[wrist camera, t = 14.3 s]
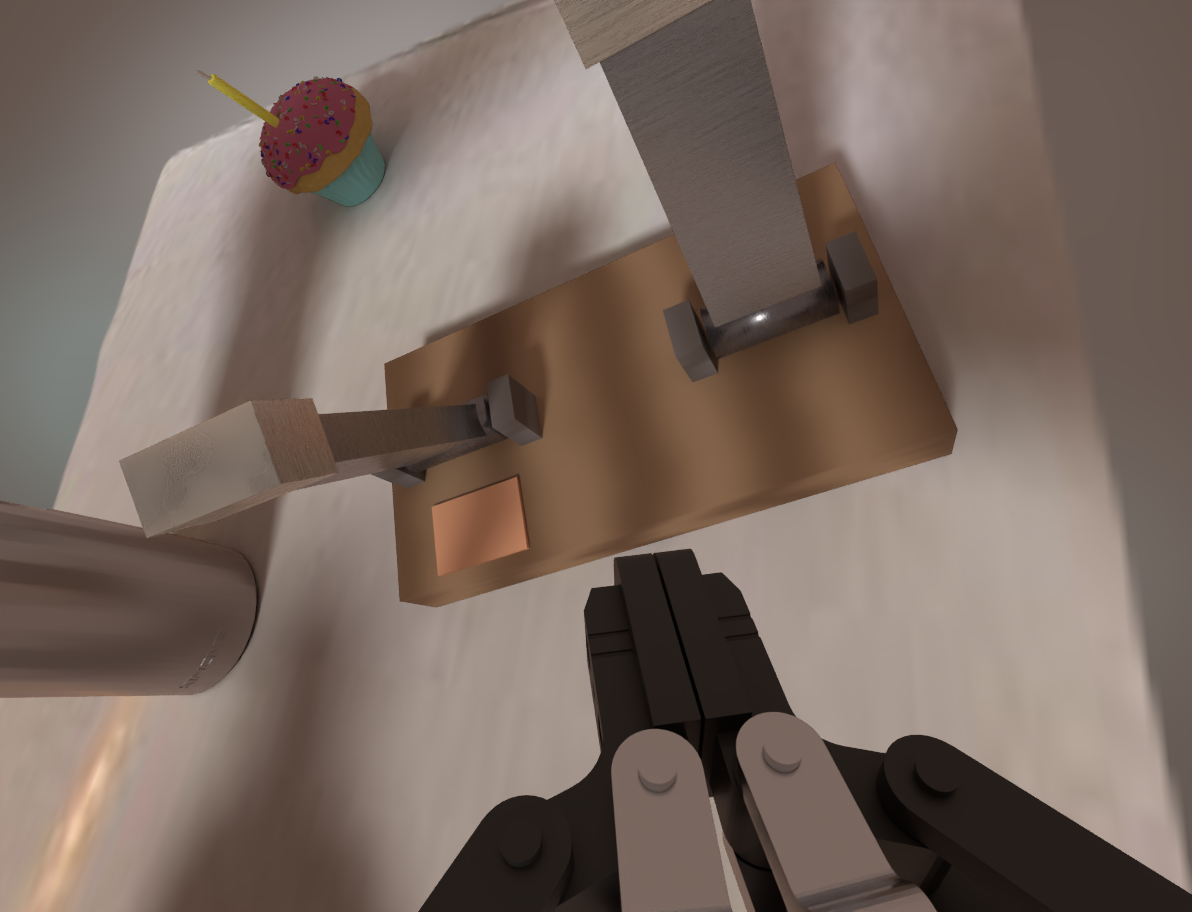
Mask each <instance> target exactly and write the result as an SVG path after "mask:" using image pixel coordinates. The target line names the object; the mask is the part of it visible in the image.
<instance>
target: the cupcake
mask: <svg viewBox="0 0 1192 912" xmlns="http://www.w3.org/2000/svg"><path fill="white" fill-rule="evenodd" d="M196 73H197V74H200V75H201V76H203V77H205V78H206V79H208V83H209V84H210V85H212V86H213V87H215V88H216V89H218V90H219V91H221V92H222V93H224V94H225V95H227V96H228V97H230V98H231V99H233V100H234V101H236V102H237V103H239V104H240V105H242V106H243V107H245V108H246V109H248V110H249V111H251V112H252V113H254V114H255V115H257V116H258V117H260V118H261V119H263V120H264V121H266V122H265V123H264V126H263V128H262V133H261V137H260V139H261V142H260V143H259V147H261V149H262V150H261V157H262V158H263V159H261V162H262V165H264V167H265V168H266V170H267V172H266V174H267V176H268V177H271V179H272V180H273V181H274V182H275V183H276V184H277V185H278V186H280V187H282V188H285V189H287V190H289V191H290V192H292V193H295V194H299V193H302V192H311V193H314V194H317V195H320V196H323V197H325V198H327V199H330V200H332V201H334V202H336V203H338V204H340V205H343V206H354V205H358V204H360V203H362V202H363V201H365V200H366V199H368V198H369V197H370V196H371V195H372V194H373V193H374V192H375V191H376V189H377V188H378V186H379V185H380V183H381V181H382V179H383V176H384V171H385V163H384V160H383V158H382V156H381V154H380V152H379V150H378V148H377V146H376V144H375V142H374V140H373V138H372V136H371V133H370V132H371V129H372V119H371V115H370V107H369V104H368V102H367V101H366V99H365V98H364V97H363V96H362V95H361V94H360V93H359V92H358V91H357V90H356V89H355V88H353V87H352V86H350V85H348V84H345V83H343V82H342V79H340V78H338V79H337V80H335V79H332V78H331V79H330V78H328V77H326V78H323V77H322V78H323V79H319V78H318V77H314V78H313V80H310V81H306V82H304V81H302V82H301V83H300V84H299V83H298V84H296V86H295V87H293V88H292V89H291V90H289V91H288V92H286V93H285V94H284V95H280V97H281V98H280V97H279V100H278V101H277V103H273V104H275V105H274V106H273V107H272V109H271V112H269V111H267V110H266V109H264V108H263V107H261V106H260V105H258V104H257V103H255V102H254V101H252V100H251V99H249V98H248V97H247V96H245V95H244V94H242V93H241V92H239V91H238V90H236V89H235V88H233V87H232V86H231V85H229V84H228V83H226V82H225V81H223V80H222V79H220V78H219V77H217V76H216V75H214V74H212V75H211V76H208V75H206V74H204V73H203V72H201V71H196Z"/></svg>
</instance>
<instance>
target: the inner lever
mask: <svg viewBox="0 0 1192 912" xmlns="http://www.w3.org/2000/svg"><path fill="white" fill-rule="evenodd" d="M506 439H508V437H506V436H505V435H503V434H502V433H500V432H498V431H497V430H495V429H494V428H492V422H491V415H490V407H489V400H488V393H487V394H484V395H482V396H479V397H477V398H474V399H472V400H469V401H467V402H464V403H462V404H460V405H454V406H438V407H423V408H408V409H393V410H378V411H362V412H347V413H332V414H318V413H317V410H316V407H315V404H314V401H313V399H312V398H308V399H276V400H250V401H248V402H246V403H243V404H241V405H239V406H237V407H235V408H233V409H230V410H228V411H226V412H224V413H222V414H220V415H217V416H215V417H213V418H211V419H209V420H207V421H204V422H202V423H200V424H198V425H196V426H194V427H191V428H189V429H187V430H185V431H183V432H181V433H178V434H176V435H174V436H172V437H170V438H168V439H165V440H163V441H161V442H159V443H157V444H155V445H152V446H150V447H148V448H146V449H144V450H142V451H139V452H137V453H135V454H133V455H131V456H129V457H126V458H124V459H122V460H120V461H119V462H120V465H121V468H122V471H123V473H124V476H125V479H126V482H127V485H128V487H129V490H130V493H131V496H132V499H133V501H134V504H135V507H136V510H137V512H138V515H139V518H140V521H141V524H142V526H143V529H144V532H145V535H146V538H149V537H153V536H157V535H161V534H165V533H169V532H174V531H178V530H182V529H186V528H190V527H194V526H198V525H203V524H207V523H211V522H215V521H218V520H220V519H223V518H225V517H228V516H230V515H233V514H235V513H238V512H240V511H243V510H245V509H248V508H251V507H253V506H256V505H258V504H261V503H263V502H266V501H268V500H271V499H273V498H276V497H278V496H281V495H284V494H286V493H289V492H291V491H294V490H298V489H303V488H307V487H312V486H317V485H321V484H326V483H330V482H335V481H340V480H344V479H349V478H354V477H358V476H363V475H367V474H372V473H377V472H381V471H386V470H390V469H395V468H400V467H405V468H406V469H408V470H409V471H411V472H414V473H418V472H421V471H423V470H426V469H429V468H431V467H434V466H437V465H439V464H442V463H445V462H447V461H450V460H453V459H455V458H458V457H461V456H463V455H466V454H469V453H471V452H474V451H477V450H479V449H482V448H484V447H487V446H490V445H492V444H495V443H498V442H500V441H503V440H506Z"/></svg>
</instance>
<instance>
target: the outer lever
mask: <svg viewBox="0 0 1192 912" xmlns="http://www.w3.org/2000/svg"><path fill="white" fill-rule="evenodd" d="M555 3H556V5H557V7H558V9H559V11H560V14H561V16H562V18H563V20H564V22H565V25H566V27H567V29H568V31H569V33H570V36H571V38H572V40H573V42H574V44H575V47H576V49H577V51H578V53H579V55H580V58H581V60H582V62H583V64H584V66H585V69H588V68H589V67H591V66H593V65H595V64H597V63H599V62H600V64H601V66H602V68H603V71H604V73H605V75H606V78H607V80H608V82H609V85H610V87H611V89H612V91H613V94H614V96H615V98H616V101H617V103H618V105H619V108H620V110H621V112H622V114H623V117H624V119H625V121H626V124H627V126H628V128H629V131H630V133H631V135H632V137H633V140H634V142H635V144H636V147H637V149H638V151H639V153H640V156H641V158H642V160H643V163H644V165H645V167H646V170H647V172H648V174H649V176H650V179H651V181H652V183H653V186H654V188H655V190H656V193H657V195H658V197H659V199H660V202H661V204H662V206H663V209H664V211H665V213H666V215H667V218H668V220H669V222H670V225H671V227H672V229H673V232H674V234H675V236H676V238H677V241H678V243H679V245H680V248H681V250H682V252H683V255H684V257H685V259H686V261H687V264H688V266H689V268H690V271H691V273H692V275H693V277H694V280H695V282H696V284H697V287H698V289H699V291H700V294H701V296H702V298H703V300H704V303H705V305H703V306H701V307H700V313H701V317H702V320H703V323H704V326H705V329H706V332H707V335H708V338H709V340H710V343H711V345H712V348H713V350H714V352H715V354H716V356H717V358H718V359H720V358H723V357H726V356H728V355H731V354H734V353H736V352H739V351H742V350H744V349H747V348H750V347H752V346H755V345H758V344H760V343H763V342H766V341H768V340H771V339H773V338H776V337H779V336H781V335H784V334H787V333H789V332H792V331H795V330H797V329H800V328H803V327H805V326H808V325H811V324H813V323H816V322H819V321H821V320H824V319H827V318H829V317H832V316H834V315H837V314H839V313H840V310H839V304H838V300H837V297H836V293H835V290H834V287H833V284H832V281H831V278H830V276H829V273H828V271H827V268H826V266H825V264H824V262H823V260H822V259H821V258H819V259H817V260H815V257H814V253H813V249H812V245H811V241H810V237H809V233H808V229H807V225H806V221H805V217H804V213H803V209H802V205H801V201H800V197H799V193H798V189H797V185H796V181H795V177H794V173H793V169H792V165H791V161H790V157H789V153H788V149H787V145H786V141H785V137H784V133H783V128H782V124H781V120H780V116H779V112H778V108H777V104H776V100H775V96H774V92H773V88H772V84H771V80H770V76H769V72H768V68H767V64H766V60H765V56H764V52H763V48H762V44H761V40H760V36H759V32H758V28H757V24H756V20H755V16H754V12H753V8H752V4H751V0H555Z"/></svg>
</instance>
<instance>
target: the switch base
mask: <svg viewBox="0 0 1192 912" xmlns="http://www.w3.org/2000/svg"><path fill="white" fill-rule="evenodd" d="M795 181H796V185H797V189H798V193H799V197H800V201H801V205H802V209H803V213H804V217H805V221H806V225H807V229H808V233H809V237H810V241H811V245H812V249H813V253H814V257H815V260H817V259H819V258H821V259H822V260H823V262H824V264H825V266H826V268H827V271H828V273H829V276H830V278H831V281H832V284H833V287H834V290H835V293H836V297H837V300H838V304H839V310H840V313H839V314H837V315H834V316H832V317H829V318H827V319H824V320H821V321H819V322H816V323H813V324H811V325H808V326H805V327H803V328H800V329H797V330H795V331H792V332H789V333H787V334H784V335H781V336H779V337H776V338H773V339H771V340H768V341H766V342H763V343H760V344H758V345H755V346H752V347H750V348H747V349H744V350H742V351H739V352H736V353H734V354H731V355H728V356H726V357H723V358H720V359H718V358H717V356H716V354H715V352H714V350H713V348H712V345H711V343H710V340H709V338H708V335H707V332H706V329H705V326H704V323H703V320H702V317H701V313H700V307H701V306H703V305H705V303H704V300H703V298H702V296H701V294H700V291H699V289H698V287H697V284H696V282H695V280H694V277H693V275H692V273H691V271H690V268H689V266H688V264H687V261H686V259H685V257H684V255H683V252H682V250H681V248H680V245H679V243H678V241H677V238H676V236H675V234H674V235H672V236H669V237H667V238H665V239H663V240H660V241H658V242H656V243H654V244H652V245H649V246H647V247H645V248H643V249H640V250H638V251H636V252H634V253H631V254H629V255H627V256H625V257H622V258H620V259H618V260H616V261H613V262H611V263H609V264H607V265H604V266H602V267H600V268H598V269H596V270H593V271H591V272H589V273H587V274H584V275H582V276H580V277H578V278H575V279H573V280H571V281H569V282H566V283H564V284H562V285H560V286H557V287H555V288H553V289H551V290H548V291H546V292H544V293H542V294H540V295H537V296H535V297H533V298H531V299H528V300H526V301H524V302H522V303H519V304H517V305H515V306H513V307H510V308H508V309H506V310H504V311H501V312H499V313H497V314H495V315H493V316H490V317H488V318H486V319H484V320H481V321H479V322H477V323H475V324H472V325H470V326H468V327H466V328H463V329H461V330H459V331H457V332H454V333H452V334H450V335H448V336H445V337H443V338H441V339H439V340H437V341H434V342H432V343H430V344H428V345H425V346H423V347H421V348H419V349H416V350H414V351H412V352H410V353H407V354H405V355H403V356H401V357H398V358H396V359H394V360H392V361H389V362H387V363H385V364H384V366H385V381H386V396H387V410H393V409H408V408H423V407H438V406H454V405H460V404H462V403H464V402H467V401H469V400H472V399H474V398H477V397H479V396H482V395H484V394H487V393H488V400H489V407H490V415H491V422H492V428H494V429H495V430H497V431H498V432H500V433H502V434H503V435H505V436H506V437H508V439H506V440H503V441H500V442H498V443H495V444H492V445H490V446H487V447H484V448H482V449H479V450H477V451H474V452H471V453H469V454H466V455H463V456H461V457H458V458H455V459H453V460H450V461H447V462H445V463H442V464H439V465H437V466H434V467H431V468H429V469H426V470H423V471H421V472H418V473H414V472H411V471H409V470H408V469H406V468H405V467H400V468H395V469H390V470H386V471H381V472H377V473H372V474H371V475H374V476H376V477H379V478H381V479H384V480H386V481H389V482H391V483H392V489H393V504H394V520H395V535H396V551H397V566H398V581H399V597H400V601H401V602H407V603H413V604H419V605H425V606H431V607H439V606H443V605H446V604H449V603H453V602H456V601H459V600H463V599H466V598H469V597H473V596H476V595H480V594H483V593H486V592H490V591H493V590H496V589H500V588H503V587H506V586H510V585H513V584H516V583H520V582H523V581H527V580H530V579H533V578H537V577H540V576H543V575H547V574H550V573H553V572H557V571H560V570H563V569H567V568H570V567H573V566H577V565H580V564H584V563H587V562H590V561H594V560H597V559H600V558H604V557H607V556H610V555H614V554H617V553H620V552H624V551H627V550H631V549H634V548H637V547H641V546H644V545H647V544H651V543H654V542H657V541H661V540H664V539H667V538H671V537H674V536H677V535H681V534H684V533H688V532H691V531H694V530H698V529H701V528H704V527H708V526H711V525H714V524H718V523H721V522H724V521H728V520H731V519H734V518H738V517H741V516H745V515H748V514H751V513H755V512H758V511H761V510H765V509H768V508H771V507H775V506H778V505H781V504H785V503H788V502H792V501H795V500H798V499H802V498H805V497H808V496H812V495H815V494H818V493H822V492H825V491H828V490H832V489H835V488H838V487H842V486H845V485H849V484H852V483H855V482H859V481H862V480H865V479H869V478H872V477H875V476H879V475H882V474H885V473H889V472H892V471H896V470H899V469H902V468H906V467H909V466H912V465H916V464H919V463H922V462H926V461H929V460H932V459H936V458H939V457H942V456H946V455H949V454H952V450H953V446H954V442H955V438H956V434H957V430H958V429H957V427H956V425H955V423H954V420H953V418H952V416H951V414H950V412H949V409H948V407H947V405H946V403H945V401H944V398H943V396H942V394H941V392H940V390H939V388H938V385H937V383H936V381H935V379H934V377H933V374H932V372H931V370H930V368H929V366H928V364H927V361H926V359H925V357H924V355H923V353H922V350H921V348H920V346H919V344H918V342H917V339H916V337H915V335H914V333H913V331H912V329H911V326H910V324H909V322H908V320H907V318H906V315H905V313H904V311H903V309H902V307H901V304H900V302H899V300H898V298H897V296H896V294H895V291H894V289H893V287H892V285H891V283H890V280H889V278H888V276H887V274H886V272H885V270H884V267H883V265H882V263H881V261H880V259H879V256H878V254H877V252H876V250H875V248H874V245H873V243H872V241H871V239H870V237H869V235H868V232H867V230H866V228H865V226H864V224H863V221H862V219H861V217H860V215H859V213H858V210H857V208H856V206H855V204H854V202H853V200H852V197H851V195H850V193H849V191H848V189H847V186H846V184H845V182H844V180H843V178H842V176H841V173H840V171H839V169H838V167H837V165H836V162H835V163H833V164H831V165H828V166H826V167H824V168H822V169H819V170H817V171H815V172H813V173H811V174H808V175H806V176H804V177H802V178H799V179H797V180H795Z"/></svg>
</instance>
